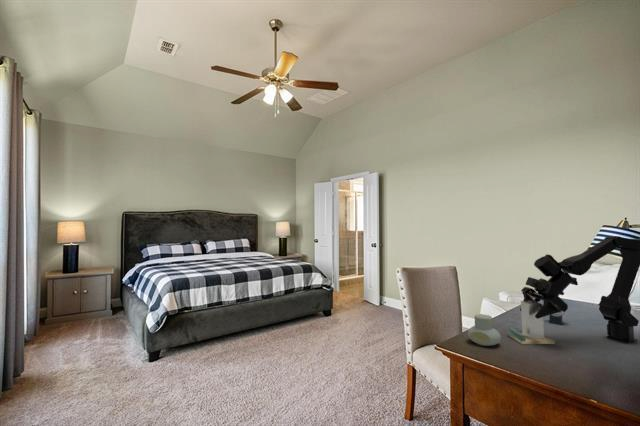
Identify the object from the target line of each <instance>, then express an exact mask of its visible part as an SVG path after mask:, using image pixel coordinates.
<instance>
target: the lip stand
mask: <svg viewBox="0 0 640 426" xmlns="http://www.w3.org/2000/svg"><path fill="white" fill-rule="evenodd" d="M506 331H507V336H508V337H510V338H511V339H513V340H514V341H515V342H517V343H519V344H521V345H545V344H546V345H556V341H555V340H554V339H551V338H549V337H547V336H545V335H544V339H529V338H527V337H526V336H525V335H523V334H522V332H520V331H519V330H516V329H514V328H513V327H507V330H506Z"/></svg>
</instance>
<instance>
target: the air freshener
mask: <svg viewBox="0 0 640 426" xmlns="http://www.w3.org/2000/svg"><path fill="white" fill-rule="evenodd" d="M493 326H494V325H493V317H492V316H491V315H489V314H482V313H477V314H475V315H474V325H472V327H470V328H468V330H467V336H468V338H469V339H470V340H471V341H472V342H474V343H476V344H477V345H479V346H483V347H493V346H495V345H497V344H499V343H500V342H501V339H502V336H501V334H500V332H499V330H497V329H495V328H494V327H493Z"/></svg>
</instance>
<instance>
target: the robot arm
mask: <svg viewBox="0 0 640 426" xmlns="http://www.w3.org/2000/svg"><path fill="white" fill-rule="evenodd" d="M616 249H619V253H620V256H621V258H622V260H621V262H620V266H619V269H618V271H617V275H616V276H615V280H614V283H613V285H612V288H611V292H610V293H609V294H608V295H602V296H601V297H600V302H599V303H598V306H599V307H598V311H599V312H600V313H601V316H603V320H605V321H607V324H606V333H607V335H606V336H605V337H606V339H611V340H615V341H618V342H622V343H626V344H630V343H634V342H637V341H638V339H636V338H635V329H634V327H638V325H639V322H640V320H638V319H637V317H635V316H634V315H633V314H632V312H631V311H632V305H631V302H630V299H629V297H630V295H631V292H632V289H633V286H634V284H635V280H636V277H637V275H638V272H639V268H640V238H629V237H627V238H626V237H622V236H620V235H619V236H618V235H614V236H613V235H608V236H606V237H604V239H603V240H601V241H599V242H598V243H596V244H594V245H592V246H591V247H589V248H588V249H586V250H584V252H582V253H580V254H575V255H573V256H572V255H571V256H570V257H567V258H565V259H562V261H559V262H558V261H557V260H556V259H555V258H554V256H552V255H551V254H549V253H548V254H547V253H545V255H544V256H541V257H539V258H538V259H536V260H535V261H534V263H533V266H534V267H535V268H537V269H538V270H539V271H540V273H541V274H542V275H544V276H545V277H548V278H549V279H544V278H542V277H541V278H539V279H538V278H535V277H530V276H528V277H527V279H526V281H525V286H524V287H523V288H522V289H521V290H520V291H521V294H522V295H523V300H522V301H528V300H532V301H535V302H538V303H540V302H541V301H543V302H542V307H541V308H540V310H539V311H538V312H537V314H536V315H535V317H536V318H537V319H538V318H541V317H543V318H544V317H549V316H550V315H551V314H559V313H561V314H562V313H564V312H565V311H566V312H567V311H568V309H569V305H568V304H567V302H565V301H564V300H563V299H562V298H561V297H560V296H564V295H565V292H564V291H565V290H566V289H567V287H569V285H570V284H571V285H575V286H578V285H579V283H578V280H577V279H578V278H577V277H573V276H575V275H576V276H583V275H585V274H586V273H587V272H588V271H590V269H591V267H592V265H593V264H594V263H595V262H597V261H598V260H600V259H601V258H604V257H605V256H607V254H608V255H609V253H611V252H613V251H614V250H616ZM572 275H573V276H572ZM531 287H532V288H531ZM533 288H534V289H533ZM519 311H520V312H521V307H520V308H519ZM566 312H565V313H566Z"/></svg>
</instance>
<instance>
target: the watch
mask: <svg viewBox="0 0 640 426" xmlns="http://www.w3.org/2000/svg"><path fill="white" fill-rule="evenodd" d="M566 312H567V310H566V311H565V312H561V314H559V313H555V314H551V315H548V317H549V324H553V325H560V326H562V325H563V322H564V321H563V320H564V319H563V316H564V315H565V313H566Z"/></svg>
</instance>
